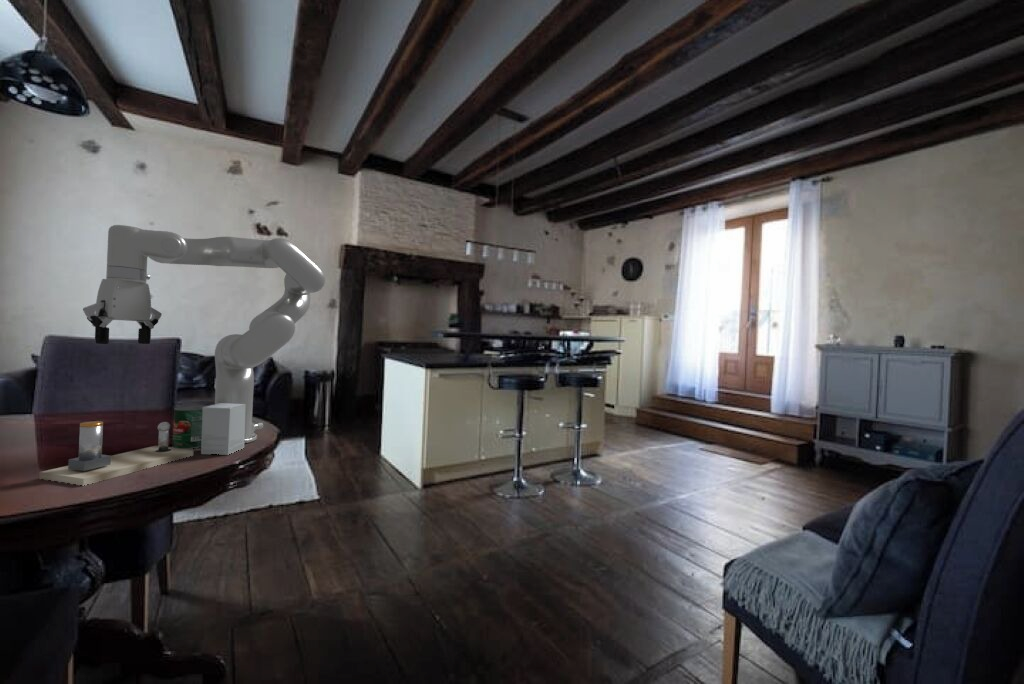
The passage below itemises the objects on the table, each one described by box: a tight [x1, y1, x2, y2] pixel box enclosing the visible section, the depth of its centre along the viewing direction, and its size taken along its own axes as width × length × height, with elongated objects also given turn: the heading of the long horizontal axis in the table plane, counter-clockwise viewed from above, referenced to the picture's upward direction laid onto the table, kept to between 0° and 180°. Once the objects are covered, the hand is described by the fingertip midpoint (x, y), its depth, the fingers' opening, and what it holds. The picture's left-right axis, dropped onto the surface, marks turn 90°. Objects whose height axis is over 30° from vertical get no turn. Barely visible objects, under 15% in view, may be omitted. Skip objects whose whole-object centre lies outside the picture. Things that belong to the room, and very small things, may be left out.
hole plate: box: [39, 445, 194, 487], centre depth 100 cm, size 24×12×2 cm, turn 168°
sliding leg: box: [67, 420, 112, 471], centre depth 94 cm, size 5×4×10 cm
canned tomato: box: [171, 404, 209, 450], centre depth 120 cm, size 8×8×11 cm
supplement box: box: [200, 403, 246, 456], centre depth 116 cm, size 7×7×13 cm
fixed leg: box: [157, 421, 172, 451], centre depth 109 cm, size 3×3×7 cm
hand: (123, 343), depth 108 cm, fingers open, 9 cm apart
